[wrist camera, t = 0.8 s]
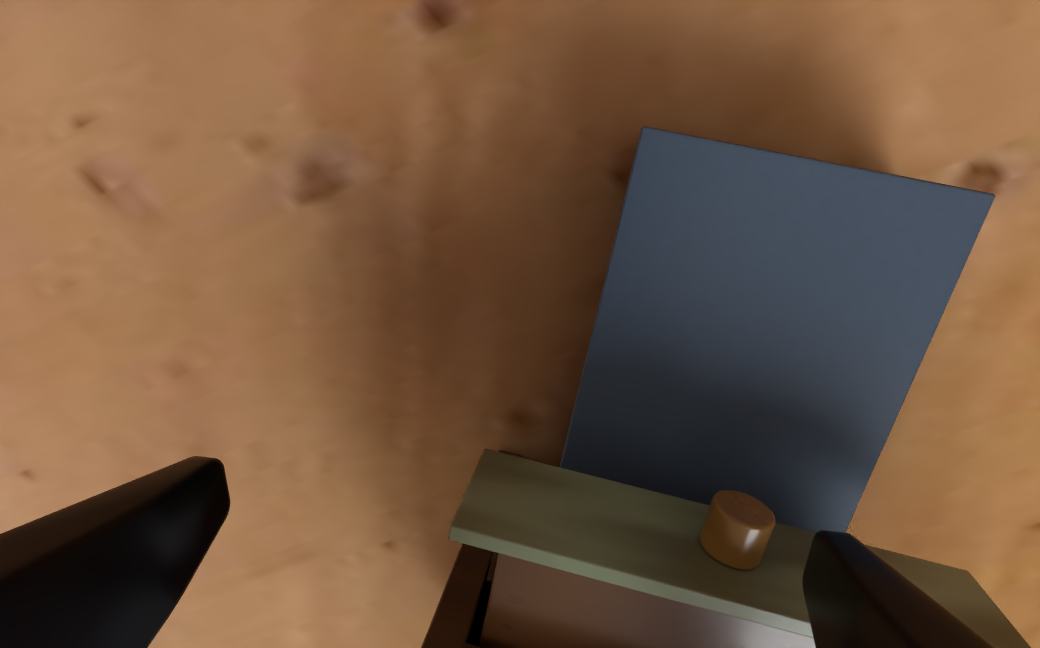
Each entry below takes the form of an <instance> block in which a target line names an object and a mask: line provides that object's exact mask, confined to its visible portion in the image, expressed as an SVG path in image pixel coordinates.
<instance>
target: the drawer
mask: <svg viewBox="0 0 1040 648" xmlns="http://www.w3.org/2000/svg"><path fill="white" fill-rule="evenodd" d="M815 534H816V532H812V531H808V530H804V529H800V528H796V527H792V526H789V525H785V524H781V523H777V522H775V517H774V514H773V512H772V511H771V510H770V509H769V508H768V507H767V506H766V505H765V504H764V503H763V502H761V501H760V500H758V499H756V498H755V497H753V496H751V495H748V494H746V493H743V492H740V491H735V490H721V491H718V492H717V493H716V494H714V496H713V498H712V500H711V503H710V505H706V504H702V503H698V502H694V501H690V500H686V499H682V498H678V497H674V496H670V495H666V494H662V493H658V492H655V491H651V490H647V489H643V488H639V487H635V486H631V485H627V484H623V483H619V482H615V481H611V480H607V479H603V478H599V477H595V476H591V475H587V474H584V473H580V472H576V471H572V470H568V469H564V468H560V467H556V466H552V465H548V464H544V463H540V462H536V461H532V460H528V459H524V458H520V457H517V456H513V455H509V454H505V453H501V452H497V451H493V450H489V449H484V451H483V453H482V455H481V458H480V460H479V462H478V464H477V467H476V469H475V471H474V473H473V476H472V478H471V480H470V483H469V485H468V487H467V489H466V492H465V494H464V496H463V498H462V501H461V503H460V505H459V508H458V510H457V512H456V514H455V517H454V519H453V521H452V523H451V526H450V531H449V540H452V541H456V542H460V543H463V544H467V545H471V546H474V547H478V548H482V549H486V550H489V551H493V552H497V553H499V554H498V559H497V563H496V568H495V573H494V577H493V582H492V587H491V591H490V596H489V601H488V605H487V610H486V615H485V619H484V624H483V629H482V633H481V638H480V643H479V647H482V648H816V647H815V642H814V638H813V633H812V629H811V625H810V620H809V616H808V611H807V607H806V602H805V598H804V593H803V586H802V578H803V572H804V568H805V565H806V561H807V558H808V554H809V551H810V548H811V544H812V541H813V538H814V535H815ZM865 546H866V547H868V548H869V549H870V550H871V551H873V552H874V553H875V554H876V555H878V556H879V557H880V558H882V559H883V560H884V561H885V562H887V563H888V564H889V565H890V566H892V567H893V568H894V569H896V570H897V571H898V572H899V573H901V574H902V575H903V576H904V577H906V578H907V579H908V580H910V581H911V582H912V583H913V584H915V585H916V586H917V587H918V588H920V589H921V590H922V591H924V592H925V593H926V594H927V595H929V596H930V597H931V598H932V599H934V600H935V601H936V602H938V603H939V604H940V605H941V606H943V607H944V608H945V609H946V610H948V611H949V612H950V613H952V614H953V615H954V616H955V617H957V618H958V619H959V620H960V621H962V622H963V623H964V624H966V625H967V626H968V627H969V628H971V629H972V630H973V631H974V632H976V633H977V634H978V635H980V636H981V637H982V638H983V639H985V640H986V641H987V642H988V643H990V644H991V645H992V646H994V647H995V648H1031V647H1030V646H1029V645H1028V643H1027V642H1026V641H1025V640H1024V639H1023V637H1022V636H1021V635H1020V634H1019V632H1018V631H1017V630H1016V629H1015V628H1014V626H1013V625H1012V624H1011V623H1010V621H1009V620H1008V619H1007V618H1006V617H1005V615H1004V614H1003V613H1002V612H1001V610H1000V609H999V608H998V607H997V606H996V604H995V603H994V602H993V601H992V600H991V598H990V597H989V596H988V595H987V593H986V592H985V591H984V590H983V589H982V587H981V586H980V585H979V584H978V582H977V581H976V580H975V579H974V578H973V576H972V575H971V574H970V573H969V572H968V571H966V570H962V569H958V568H954V567H950V566H946V565H942V564H938V563H934V562H930V561H926V560H923V559H919V558H915V557H911V556H907V555H903V554H899V553H895V552H891V551H887V550H883V549H879V548H875V547H871V546H867V545H865Z"/></svg>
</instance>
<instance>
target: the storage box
mask: <svg viewBox="0 0 1040 648" xmlns="http://www.w3.org/2000/svg"><path fill="white" fill-rule="evenodd" d="M994 198H995V195H994V194H991V193H986V192H981V191H976V190H971V189H966V188H960V187H955V186H950V185H945V184H940V183H935V182H929V181H924V180H919V179H914V178H909V177H904V176H898V175H893V174H888V173H883V172H878V171H873V170H867V169H862V168H857V167H852V166H847V165H842V164H836V163H831V162H826V161H821V160H816V159H811V158H806V157H800V156H795V155H790V154H785V153H780V152H775V151H769V150H764V149H759V148H754V147H749V146H744V145H738V144H733V143H728V142H723V141H718V140H713V139H707V138H702V137H697V136H692V135H687V134H682V133H676V132H671V131H666V130H661V129H656V128H651V127H645V126H644V127H642V128H641V131H640V135H639V139H638V143H637V148H636V152H635V156H634V160H633V164H632V168H631V172H630V177H629V181H628V185H627V189H626V193H625V197H624V201H623V206H622V210H621V214H620V218H619V222H618V226H617V230H616V235H615V239H614V243H613V247H612V251H611V255H610V259H609V264H608V268H607V272H606V276H605V280H604V284H603V288H602V293H601V297H600V301H599V305H598V309H597V313H596V317H595V322H594V326H593V330H592V334H591V338H590V342H589V346H588V351H587V355H586V359H585V363H584V367H583V371H582V375H581V380H580V384H579V388H578V392H577V396H576V400H575V404H574V409H573V413H572V417H571V421H570V425H569V429H568V433H567V438H566V442H565V446H564V450H563V454H562V458H561V462H560V468H564V469H568V470H572V471H576V472H580V473H584V474H587V475H591V476H595V477H599V478H603V479H607V480H611V481H615V482H619V483H623V484H627V485H631V486H635V487H639V488H643V489H647V490H651V491H655V492H658V493H662V494H666V495H670V496H674V497H678V498H682V499H686V500H690V501H694V502H698V503H702V504H706V505H710V503H711V500H712V498H713V496H714V494H716V493H717V492H718V491H721V490H735V491H740V492H743V493H746V494H748V495H751V496H753V497H755V498H756V499H758V500H760V501H761V502H763V503H764V504H765V505H766V506H767V507H768V508H769V509H770V510H771V511H772V512H773V514H774V517H775V522H777V523H781V524H785V525H789V526H792V527H796V528H800V529H804V530H808V531H812V532H816V533H817V532H818V531H820V530H828V531H836V532H844V533H845V532H846V530H847V527H848V525H849V523H850V521H851V519H852V516H853V514H854V512H855V510H856V507H857V505H858V503H859V501H860V498H861V496H862V494H863V492H864V489H865V487H866V485H867V483H868V480H869V478H870V476H871V474H872V471H873V469H874V467H875V465H876V462H877V460H878V458H879V456H880V453H881V451H882V449H883V447H884V445H885V442H886V440H887V438H888V436H889V433H890V431H891V429H892V427H893V424H894V422H895V420H896V418H897V415H898V413H899V411H900V409H901V406H902V404H903V402H904V400H905V397H906V395H907V393H908V391H909V388H910V386H911V384H912V382H913V379H914V377H915V375H916V373H917V371H918V368H919V366H920V364H921V362H922V359H923V357H924V355H925V353H926V350H927V348H928V346H929V344H930V341H931V339H932V337H933V335H934V332H935V330H936V328H937V326H938V323H939V321H940V319H941V317H942V314H943V312H944V310H945V308H946V306H947V303H948V301H949V299H950V297H951V294H952V292H953V290H954V288H955V285H956V283H957V281H958V279H959V276H960V274H961V272H962V270H963V267H964V265H965V263H966V261H967V258H968V256H969V254H970V252H971V249H972V247H973V245H974V243H975V240H976V238H977V236H978V234H979V232H980V229H981V227H982V225H983V223H984V220H985V218H986V216H987V214H988V211H989V209H990V207H991V205H992V202H993V200H994Z"/></svg>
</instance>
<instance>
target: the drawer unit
mask: <svg viewBox="0 0 1040 648" xmlns="http://www.w3.org/2000/svg"><path fill="white" fill-rule="evenodd" d="M498 452H501V453H505V454H509V455H513V456H517V457H520V458H522V456H519V455H515V454H511V453H507V452H503V451H498ZM498 554H499V553H497V552H493V551H489V550H486V549H482V548H478V547H474V546H471V545H467V544H463V543H462V545H461V547H460V550H459V553H458V555H457V558H456V560H455V563H454V565H453V568H452V570H451V573H450V576H449V578H448V581H447V583H446V586H445V588H444V591H443V593H442V596H441V599H440V601H439V604H438V606H437V609H436V611H435V614H434V616H433V619H432V622H431V624H430V627H429V629H428V632H427V634H426V636H425V639H424V642H423V644H422V647H421V648H482V647H479V643H480V638H481V633H482V629H483V624H484V619H485V615H486V610H487V605H488V601H489V596H490V591H491V587H492V582H493V577H494V573H495V568H496V563H497V559H498Z"/></svg>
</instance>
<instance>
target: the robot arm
mask: <svg viewBox="0 0 1040 648" xmlns="http://www.w3.org/2000/svg"><path fill="white" fill-rule="evenodd" d="M229 508H230V497H229V491H228V486H227V480H226V475H225V469H224V465H223V463H222V462H221V461H220V460H219V459H216V458H209V457H201V456H194V457H190V458H187V459H185V460H182V461H180V462H178V463H175V464H173V465H170V466H168V467H165V468H163V469H160V470H158V471H155V472H153V473H150V474H148V475H145V476H143V477H140V478H138V479H135V480H133V481H131V482H128V483H126V484H123V485H121V486H118V487H116V488H113V489H111V490H108V491H106V492H103V493H101V494H98V495H96V496H93V497H91V498H88V499H86V500H83V501H81V502H79V503H76V504H74V505H71V506H69V507H66V508H64V509H61V510H59V511H56V512H54V513H51V514H49V515H46V516H44V517H41V518H39V519H36V520H34V521H32V522H29V523H27V524H24V525H22V526H19V527H17V528H14V529H12V530H9V531H7V532H4V533H2V534H0V648H147V647H148V646H149V645H150V643H151V642H152V640H153V639H154V637H155V636H156V634H157V633H158V632H159V630H160V629H161V627H162V626H163V624H164V623H165V622H166V620H167V619H168V617H169V615H170V614H171V612H172V611H173V609H174V608H175V606H176V605H177V603H178V601H179V600H180V598H181V597H182V595H183V593H184V592H185V590H186V588H187V586H188V585H189V583H190V581H191V579H192V578H193V576H194V574H195V572H196V570H197V569H198V567H199V565H200V563H201V562H202V560H203V558H204V556H205V555H206V553H207V551H208V549H209V547H210V546H211V544H212V542H213V540H214V539H215V537H216V535H217V533H218V532H219V530H220V528H221V526H222V524H223V523H224V521H225V519H226V517H227V515H228V512H229ZM802 586H803V593H804V598H805V602H806V607H807V611H808V616H809V620H810V625H811V629H812V633H813V638H814V642H815V647H816V648H995V647H994V646H992V645H991V644H990V643H988V642H987V641H986V640H985V639H983V638H982V637H981V636H980V635H978V634H977V633H976V632H974V631H973V630H972V629H971V628H969V627H968V626H967V625H966V624H964V623H963V622H962V621H960V620H959V619H958V618H957V617H955V616H954V615H953V614H952V613H950V612H949V611H948V610H946V609H945V608H944V607H943V606H941V605H940V604H939V603H938V602H936V601H935V600H934V599H932V598H931V597H930V596H929V595H927V594H926V593H925V592H924V591H922V590H921V589H920V588H918V587H917V586H916V585H915V584H913V583H912V582H911V581H910V580H908V579H907V578H906V577H904V576H903V575H902V574H901V573H899V572H898V571H897V570H896V569H894V568H893V567H892V566H890V565H889V564H888V563H887V562H885V561H884V560H883V559H882V558H880V557H879V556H878V555H876V554H875V553H874V552H873V551H871V550H870V549H869V548H868V547H866V546H865V545H864V544H863V543H861V542H860V541H859V540H857V539H856V538H855V537H853V536H852V535H851V534H848V533H844V532H836V531H828V530H820V531H818V532H817V533H816V534H815V535H814V538H813V541H812V544H811V548H810V551H809V554H808V558H807V561H806V565H805V568H804V572H803V578H802Z"/></svg>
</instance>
